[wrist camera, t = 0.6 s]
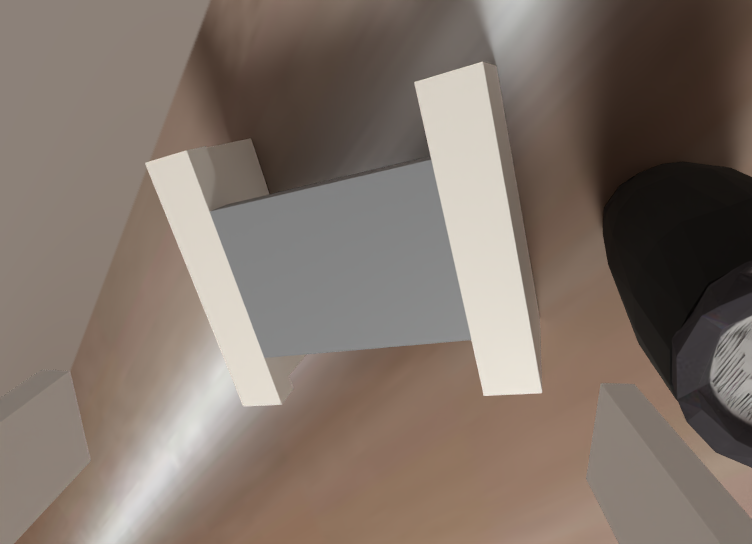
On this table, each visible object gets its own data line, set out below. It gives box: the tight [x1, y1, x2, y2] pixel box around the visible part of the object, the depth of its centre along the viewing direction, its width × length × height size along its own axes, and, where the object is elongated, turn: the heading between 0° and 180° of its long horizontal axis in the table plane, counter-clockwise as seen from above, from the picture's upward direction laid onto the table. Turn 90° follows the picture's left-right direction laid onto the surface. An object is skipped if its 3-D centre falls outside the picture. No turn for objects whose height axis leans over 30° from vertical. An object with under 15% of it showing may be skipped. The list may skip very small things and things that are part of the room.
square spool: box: [145, 62, 542, 406], centre depth 34 cm, size 22×19×10 cm
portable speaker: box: [603, 162, 752, 468], centre depth 23 cm, size 9×9×20 cm
